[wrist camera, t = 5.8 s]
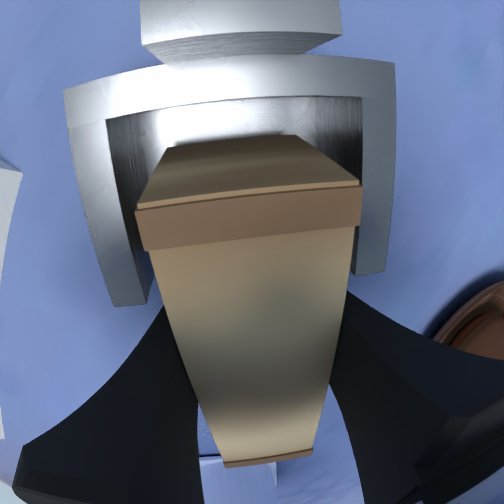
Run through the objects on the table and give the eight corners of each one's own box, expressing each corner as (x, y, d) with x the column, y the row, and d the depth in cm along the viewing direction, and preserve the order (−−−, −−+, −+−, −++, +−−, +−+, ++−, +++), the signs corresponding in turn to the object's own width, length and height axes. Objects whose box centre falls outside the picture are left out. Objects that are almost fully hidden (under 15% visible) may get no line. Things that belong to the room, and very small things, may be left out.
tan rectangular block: (291, 383, 16) (311, 455, 12) (218, 394, 16) (225, 469, 12) (297, 134, 9) (363, 182, 5) (165, 147, 9) (133, 206, 5)
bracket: (333, 218, 13) (425, 319, 7) (140, 241, 12) (93, 368, 6) (329, 44, 9) (450, 4, 3) (112, 62, 9) (5, 30, 3)
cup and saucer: (402, 312, 16) (458, 389, 11) (525, 243, 16) (581, 286, 10) (398, 409, 22) (426, 464, 16) (499, 348, 21) (533, 390, 16)
